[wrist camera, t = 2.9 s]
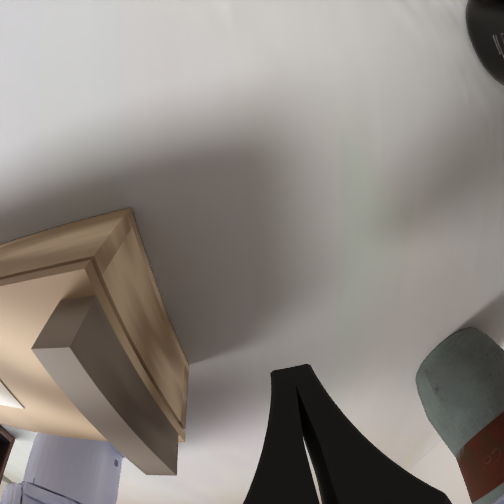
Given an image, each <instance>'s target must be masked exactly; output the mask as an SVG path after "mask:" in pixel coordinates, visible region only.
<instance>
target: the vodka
mask: <svg viewBox="0 0 504 504" xmlns="http://www.w3.org/2000/svg"><path fill="white" fill-rule="evenodd" d="M416 384H417V389H418V394H419V396H420V399H421V402H422V404H423V407H424V410H425V412H426V415H427V417H428V420H429V421H430V422H431V424H432V425H433V427H434V428H435V430H436V431H437V432H438V434H439V435H440V437H441V438H442V440H443V441H444V442H445V443H446V445H447V446H448V448H449V449H450V450H451V452H452V453H453V454H454V456H455V457H456V459H457V462H458V465H459V467H460V470H461V473H462V476H463V478H464V481H465V484H466V487H467V490H468V493H469V496H470V499H471V502H472V504H491V503H493V502H494V501H496V500H497V499H498V498H500V497H501V496H502V495H504V350H503V349H502V348H501V347H500V346H499V345H498V344H496V343H495V342H494V341H493V340H492V339H491V338H490V337H489V336H488V335H486V334H484V333H483V332H481V331H479V330H478V329H475V328H467V329H463V330H460V331H458V332H457V333H455V334H453V335H451V336H450V337H448V338H447V339H446V340H444V341H443V342H442V343H440V344H439V345H438V346H437V347H436V348H435V349H434V350H433V351H432V352H431V353H430V354H429V355H428V356H427V358H426V359H425V360H424V361H423V363H422V364H421V366H420V368H419V370H418V372H417V375H416Z"/></svg>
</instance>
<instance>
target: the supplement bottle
mask: <svg viewBox="0 0 504 504" xmlns="http://www.w3.org/2000/svg"><path fill="white" fill-rule="evenodd" d="M466 22H467V28H468V33H469V36H470V39H471V42H472V45H473V47H474V49H475V52H476V54H477V56H478V57H479V59H480V61H481V63H482V64H483V66H484V67H485V69H486V70H487V71H488V72H489V74H490V75H491V76H492V77H493V78H494V79H495V80H497V81H498V82H499V83H501V84H502V85H504V0H469V2H468V4H467V8H466Z"/></svg>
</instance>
